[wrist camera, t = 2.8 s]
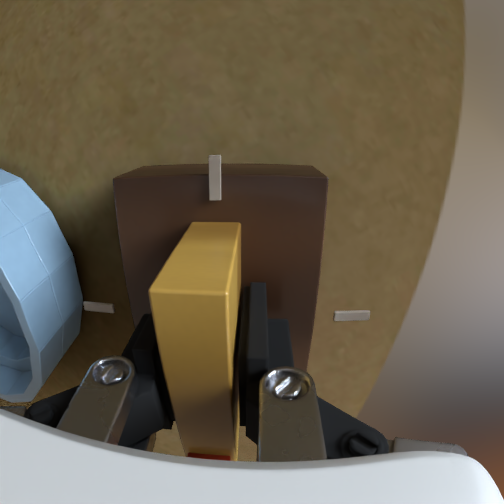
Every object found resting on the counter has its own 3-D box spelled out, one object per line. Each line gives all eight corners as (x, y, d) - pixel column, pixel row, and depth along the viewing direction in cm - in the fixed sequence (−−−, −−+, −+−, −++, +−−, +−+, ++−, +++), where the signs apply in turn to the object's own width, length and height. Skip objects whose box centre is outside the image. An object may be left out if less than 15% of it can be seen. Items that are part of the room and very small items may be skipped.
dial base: (99, 156, 12) (59, 166, 9) (362, 154, 12) (393, 164, 9) (133, 360, 16) (115, 399, 13) (332, 368, 16) (342, 410, 13)
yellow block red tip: (191, 221, 10) (142, 295, 6) (241, 221, 10) (227, 298, 6) (204, 380, 13) (187, 473, 8) (242, 382, 13) (235, 477, 8)
